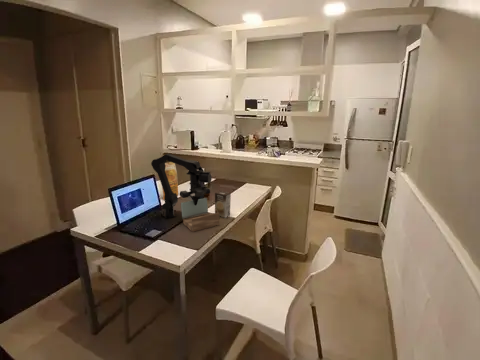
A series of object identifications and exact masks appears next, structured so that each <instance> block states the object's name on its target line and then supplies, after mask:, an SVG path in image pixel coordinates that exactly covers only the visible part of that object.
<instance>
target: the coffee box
mask: <svg viewBox="0 0 480 360" xmlns="http://www.w3.org/2000/svg"><path fill="white" fill-rule="evenodd" d="M231 195H232V193H231V192H228V191H224V190H219V191H218V190H217V191H216V192H214V213H219V217H220V216H221V218H225V219H226V218H228V217H230V216H231V201H232V200H231V198H232V197H231ZM227 216H228V217H227Z"/></svg>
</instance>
